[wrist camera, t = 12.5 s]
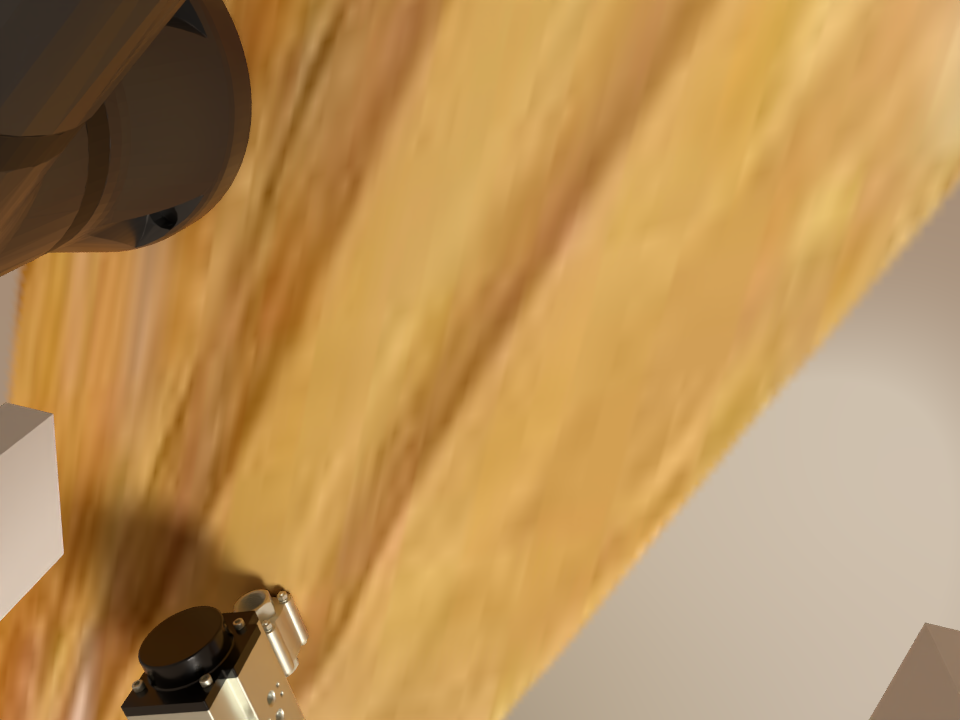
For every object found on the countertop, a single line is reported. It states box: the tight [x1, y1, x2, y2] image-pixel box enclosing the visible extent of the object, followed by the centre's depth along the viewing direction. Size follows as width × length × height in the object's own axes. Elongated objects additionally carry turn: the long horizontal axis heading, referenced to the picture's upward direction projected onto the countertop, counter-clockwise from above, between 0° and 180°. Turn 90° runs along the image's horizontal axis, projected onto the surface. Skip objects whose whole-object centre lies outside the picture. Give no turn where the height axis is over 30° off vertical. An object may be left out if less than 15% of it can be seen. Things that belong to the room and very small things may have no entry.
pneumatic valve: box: [121, 589, 309, 720], centre depth 45 cm, size 6×12×12 cm, turn 15°
